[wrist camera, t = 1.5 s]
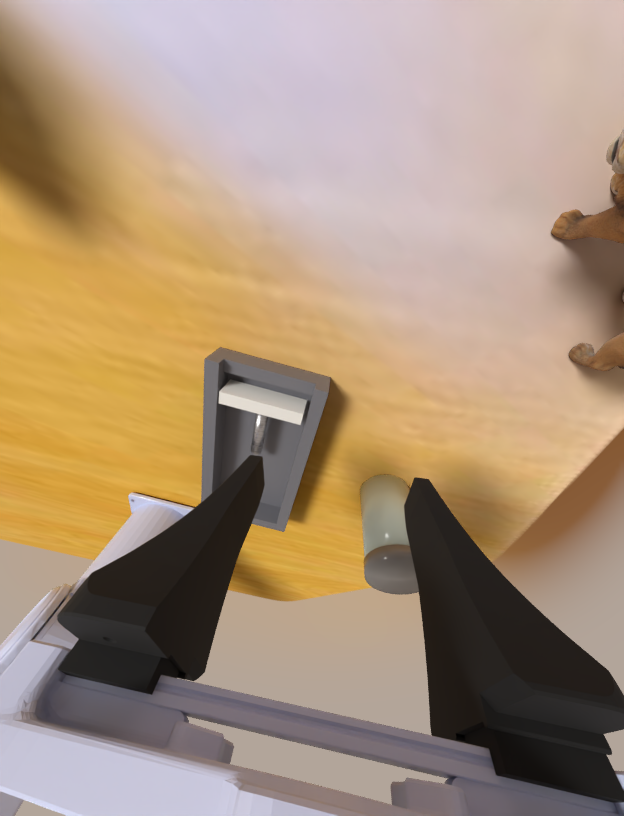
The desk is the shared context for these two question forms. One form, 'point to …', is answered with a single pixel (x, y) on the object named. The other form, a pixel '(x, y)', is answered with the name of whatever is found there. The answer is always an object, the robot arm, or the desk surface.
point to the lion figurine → (610, 224)
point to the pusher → (262, 407)
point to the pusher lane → (234, 429)
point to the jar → (386, 536)
